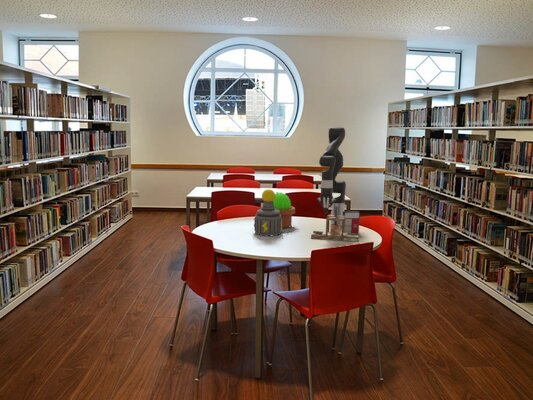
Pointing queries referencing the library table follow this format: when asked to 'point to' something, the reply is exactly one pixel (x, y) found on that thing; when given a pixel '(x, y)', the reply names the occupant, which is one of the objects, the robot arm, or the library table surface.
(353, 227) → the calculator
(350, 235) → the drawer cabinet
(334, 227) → the cube with grey rod
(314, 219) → the library table surface
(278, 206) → the potted cactus
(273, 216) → the decorative lamp
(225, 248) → the library table surface
